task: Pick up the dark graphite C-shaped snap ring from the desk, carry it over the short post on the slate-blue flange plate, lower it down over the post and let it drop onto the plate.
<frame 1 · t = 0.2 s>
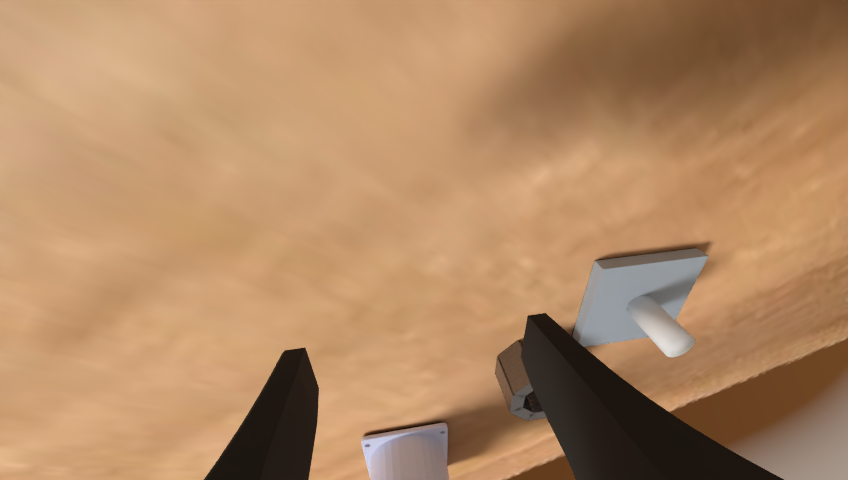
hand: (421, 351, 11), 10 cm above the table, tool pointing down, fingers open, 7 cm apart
post stand: (630, 296, 27), on the table
snap ring: (527, 360, 29), on the table
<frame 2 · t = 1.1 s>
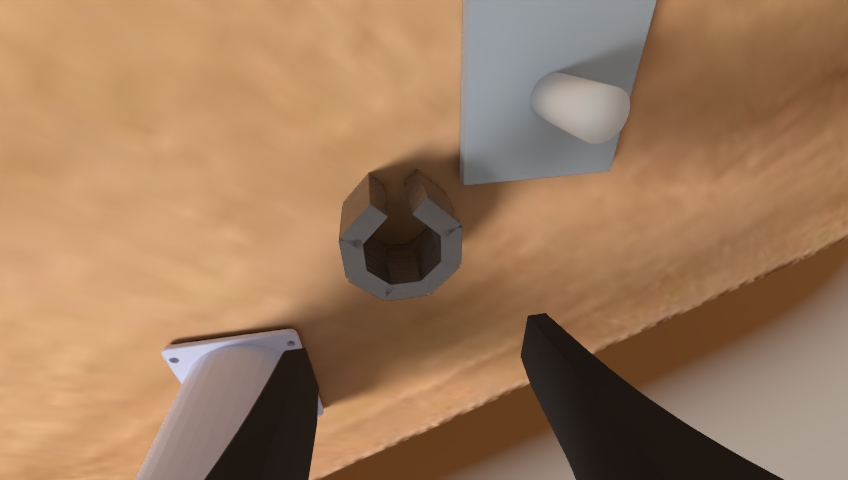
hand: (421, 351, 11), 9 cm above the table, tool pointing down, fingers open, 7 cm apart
post stand: (541, 92, 16), on the table
snap ring: (396, 217, 19), on the table
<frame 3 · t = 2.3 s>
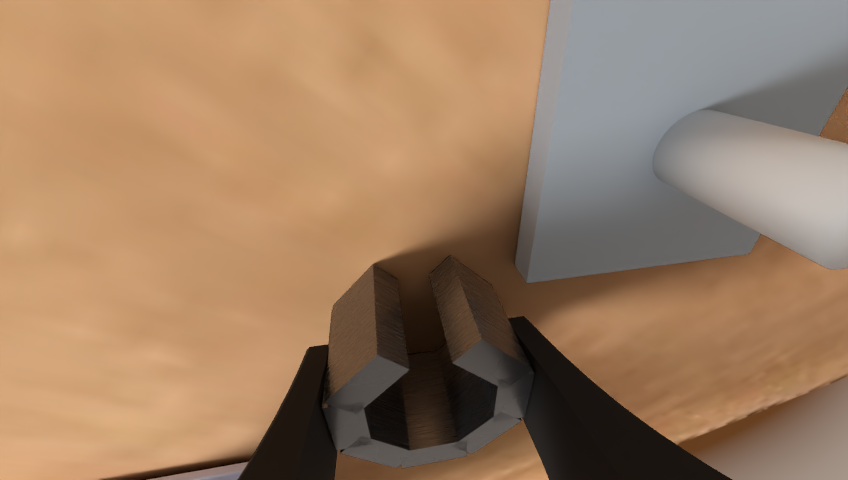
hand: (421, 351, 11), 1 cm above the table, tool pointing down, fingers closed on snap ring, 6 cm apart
post stand: (661, 138, 10), on the table
snap ring: (415, 320, 12), on the table, touching gripper
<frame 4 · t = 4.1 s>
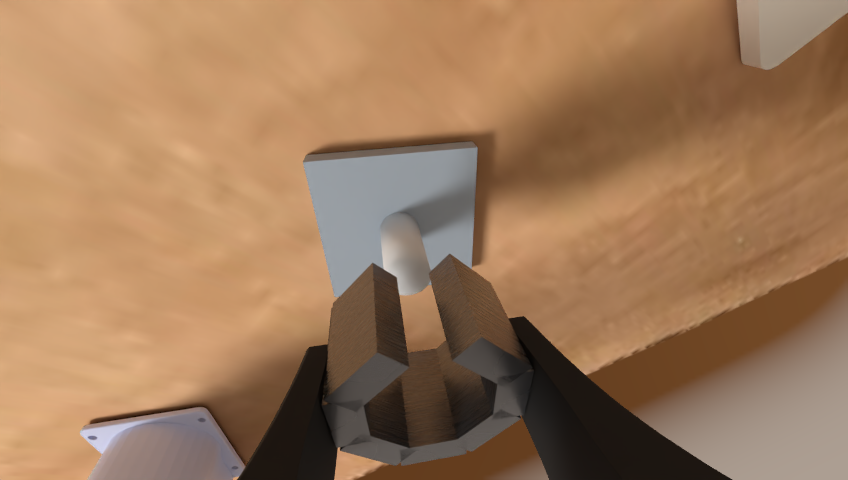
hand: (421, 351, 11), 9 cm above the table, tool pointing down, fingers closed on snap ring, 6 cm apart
post stand: (397, 220, 19), on the table
snap ring: (415, 318, 12), point 7 cm above the table, touching gripper
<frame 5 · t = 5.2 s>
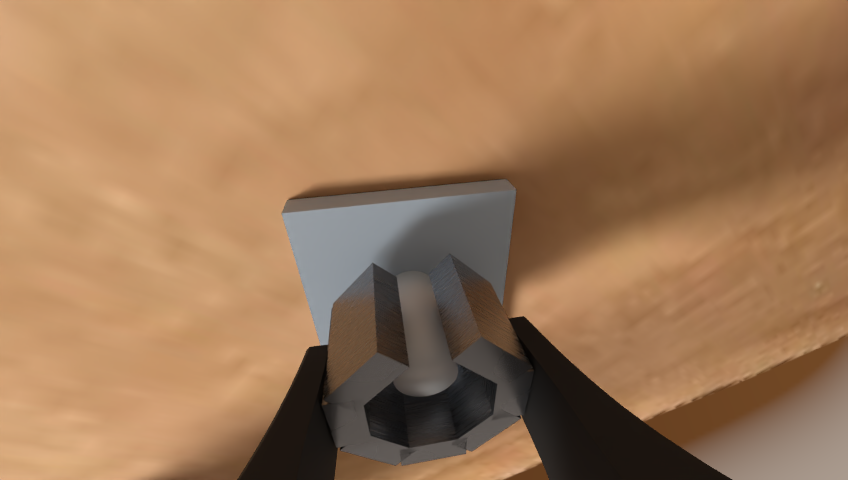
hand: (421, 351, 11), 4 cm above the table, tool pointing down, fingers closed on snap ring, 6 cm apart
post stand: (407, 275, 15), on the table
snap ring: (415, 318, 12), point 3 cm above the table, touching gripper
when the fingers open (4 cm above the table, at t = 5.8 s): snap ring drops 1 cm, resting on post stand.
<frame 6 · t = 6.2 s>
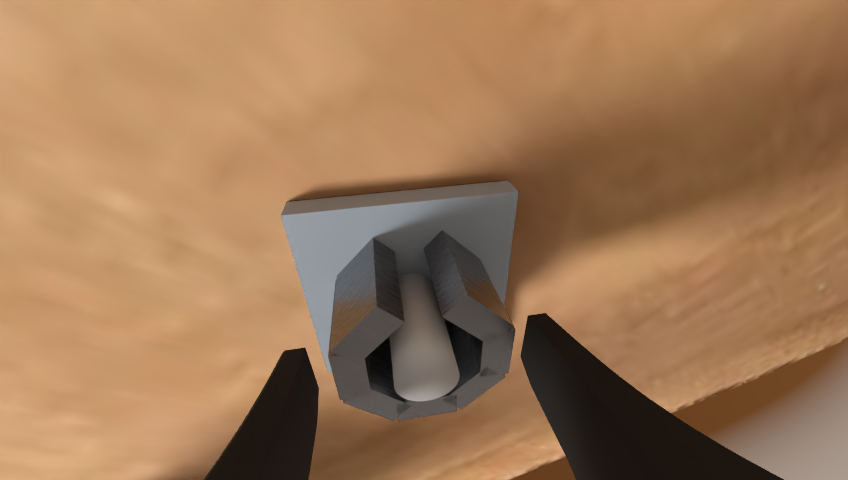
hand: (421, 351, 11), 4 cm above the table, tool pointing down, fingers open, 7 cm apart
post stand: (408, 277, 14), on the table
snap ring: (411, 291, 14), point 1 cm above the table, touching post stand
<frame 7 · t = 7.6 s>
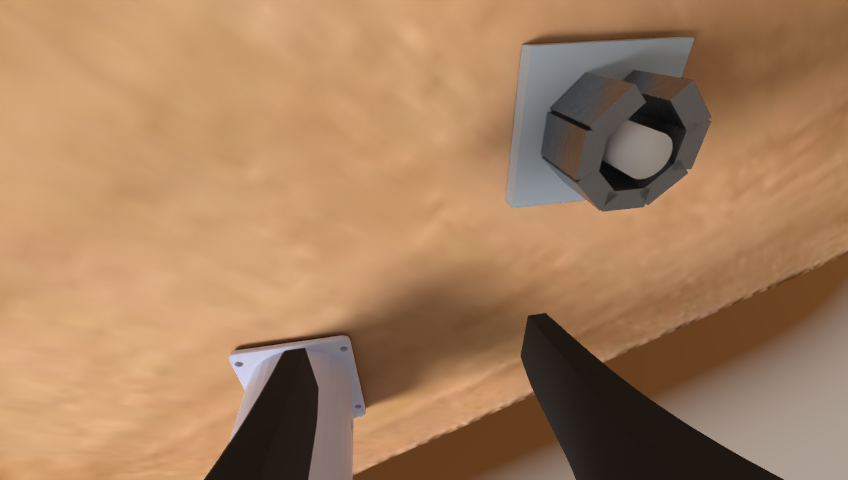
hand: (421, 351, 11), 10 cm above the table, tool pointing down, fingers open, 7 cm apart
post stand: (583, 126, 18), on the table
snap ring: (595, 129, 18), point 1 cm above the table, touching post stand
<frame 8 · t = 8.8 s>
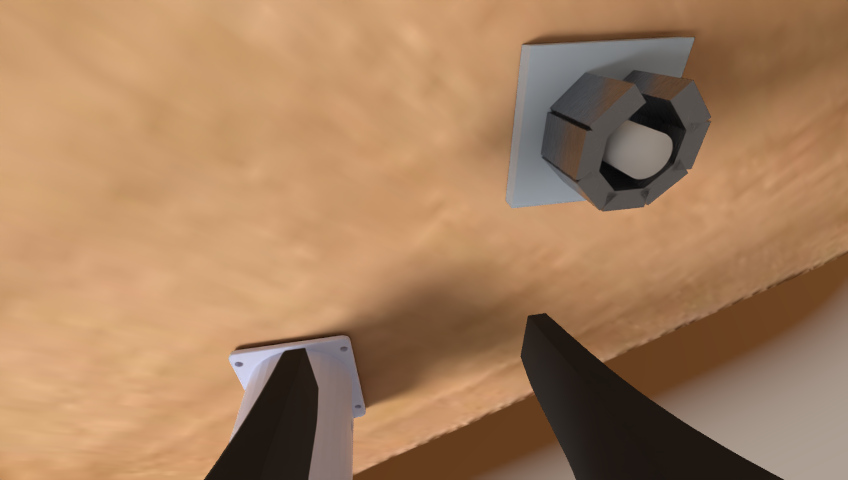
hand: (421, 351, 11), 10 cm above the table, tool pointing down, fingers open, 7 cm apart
post stand: (583, 126, 18), on the table
snap ring: (595, 129, 18), point 1 cm above the table, touching post stand
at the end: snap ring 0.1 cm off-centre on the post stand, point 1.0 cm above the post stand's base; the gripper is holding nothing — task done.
